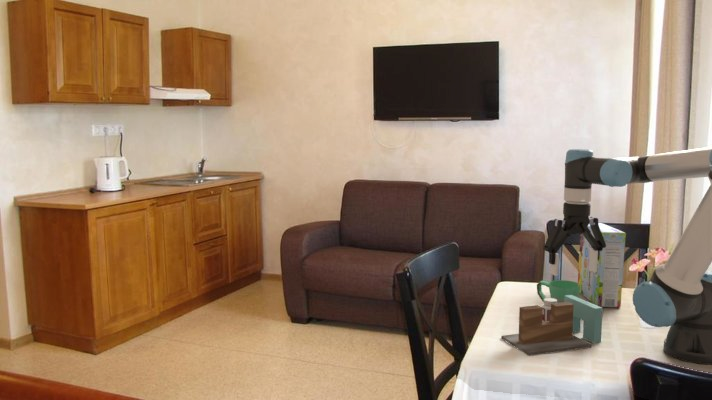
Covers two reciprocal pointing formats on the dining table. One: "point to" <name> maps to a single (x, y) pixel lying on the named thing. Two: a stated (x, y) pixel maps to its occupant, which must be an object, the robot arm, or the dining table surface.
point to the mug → (559, 289)
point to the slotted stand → (546, 330)
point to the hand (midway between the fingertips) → (573, 273)
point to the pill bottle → (547, 308)
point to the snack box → (603, 268)
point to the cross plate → (586, 318)
